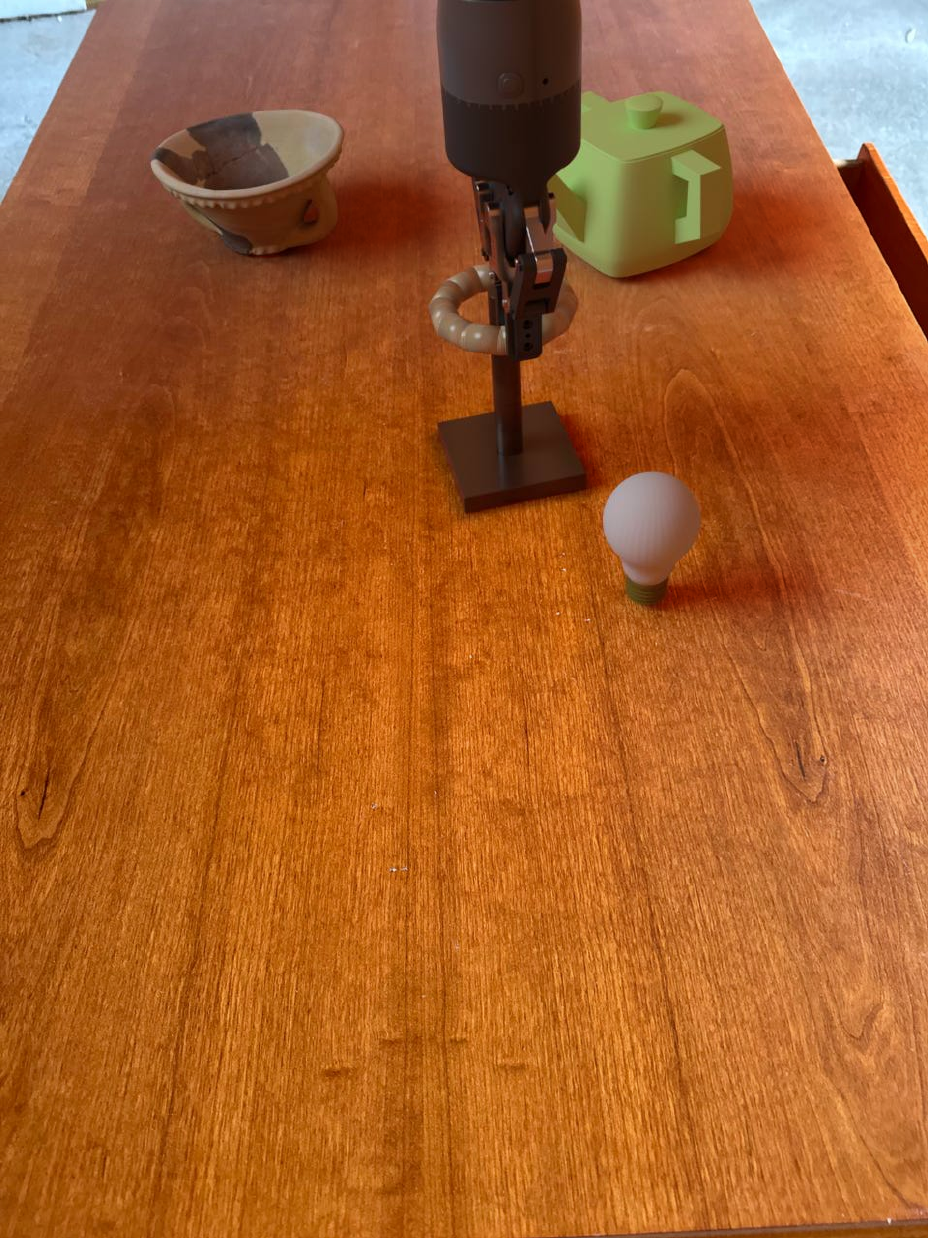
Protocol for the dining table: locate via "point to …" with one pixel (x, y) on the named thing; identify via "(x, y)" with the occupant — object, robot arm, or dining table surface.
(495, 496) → the stand
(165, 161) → the bowl
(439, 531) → the dining table surface
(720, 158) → the teapot
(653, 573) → the light bulb
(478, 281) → the beige segmented ring
